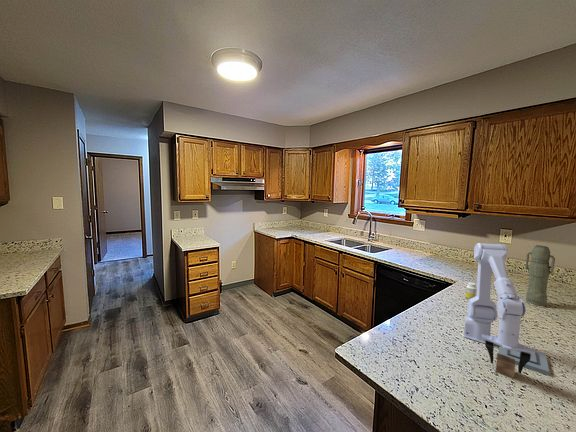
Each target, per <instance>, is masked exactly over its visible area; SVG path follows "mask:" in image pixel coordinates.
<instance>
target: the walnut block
mask: <svg viewBox="0 0 576 432" xmlns="http://www.w3.org/2000/svg"><path fill="white" fill-rule="evenodd" d="M495 365H496V366H495V373H497V374H500V375H502V376H506V377H508V378H511V379H513V380H515V371H516V364H515V359H514V358H511V357H508V356H505V355H502V354H499V352H497V354H496V364H495Z"/></svg>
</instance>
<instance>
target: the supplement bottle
mask: <svg viewBox="0 0 576 432" xmlns="http://www.w3.org/2000/svg"><path fill="white" fill-rule="evenodd" d="M476 292H477V283H476V282H475V283H474V282H472V281H471V282H469V281H468V282H467V285H466V288H465V299H466V300H467V299H468V300H467V301H469V299H471V298H473V297H475V296H476Z"/></svg>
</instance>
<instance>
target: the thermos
mask: <svg viewBox="0 0 576 432" xmlns="http://www.w3.org/2000/svg"><path fill="white" fill-rule="evenodd" d="M530 256H531V257H530ZM530 258H531V261H530V260H529V259H530ZM550 259H551V265H550ZM529 261H530V262H529ZM555 261H556V257H555V256H554V255H551V250H550V248H549V246H548V245H547V246H546V245H540V244H539V245H534V246H533V248H532V250H531V251H529V252H528V253H527V254H526V261H525V269H526V270H528V275H529V276H528V277H529V278H528V287H527V292H526V295H525V302H526V301H527V302H529V303H531V304H534V305H538V306H546V307H547V302H548V294H547V290H548V281H549V278H550V274H553V273H554V268H555ZM529 263H530V264H529ZM534 305H533V306H534ZM538 306H537V307H538Z"/></svg>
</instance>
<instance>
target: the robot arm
mask: <svg viewBox="0 0 576 432" xmlns="http://www.w3.org/2000/svg"><path fill="white" fill-rule="evenodd" d="M473 248H474V250H473V260H475V261H477V274H476V276H477V277H476V287H477V292H476V296H475V297H473V298H471V299H469V300H467V302H468V303H467V306H466V313H467V315H465V320H464V326H463V331H464V332H463V338H466V339H469V340H473V341H475V342H479V343H482V344H484V345H485V348H486V351H487V353H488V356H489V359H490V364H492V365H493V364H494V348H495V345H496V346H502V347H503V348H505V349H508V350H511V349H512V350H515V351H518V352H520V361H519V365H517V366H518V367H517V368H518V369H517V373H519V374H522V372H523V369H524V366H525V365H526V363H528V362H529V361H530V359H531V357H530V356H532V357H535V351H536V349H534V348H531V347H529V346H526V345H523V344H520V343H519V341H520V329H521V318H522V317H524V316H525V314H526V310H527V309H526V304H525V302H524V300H522V298H521V296H518V293H517V290H516V287H515V285H514V281H513V280H511V279H509V275H508V274H507V273H508V271H507V268H506V267H507V266H506V263H505V261H506V259H507V257H508V249H507V246H506V245H505V243H504V244H503V243H501V244H500V243H498V244H497V243H484V242H483V243H482V242H478V243H475V245H474V247H473ZM492 273H493V275H494V278H495V281H493V285H494V288H495V292H496V295H497V301H496V303H495V302H494V301H493V300H491V288H492V287H491V286H492ZM498 317H499V318H498ZM497 319H498V328H497V336H492V335H491V332H492V331H491V330H492V324H493V323H494V321H496V320H497Z"/></svg>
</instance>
